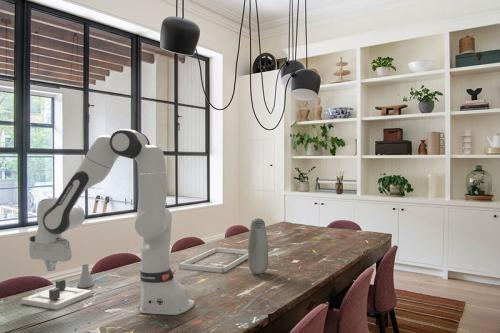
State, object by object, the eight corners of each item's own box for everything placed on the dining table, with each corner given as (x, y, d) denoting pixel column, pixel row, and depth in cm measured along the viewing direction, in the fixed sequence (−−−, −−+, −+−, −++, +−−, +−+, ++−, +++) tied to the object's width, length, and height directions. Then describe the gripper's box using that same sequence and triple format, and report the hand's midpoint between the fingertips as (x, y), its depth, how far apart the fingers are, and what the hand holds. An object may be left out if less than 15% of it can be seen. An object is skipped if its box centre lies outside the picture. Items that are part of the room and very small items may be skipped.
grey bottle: (267, 276, 189) (265, 220, 188) (246, 276, 191) (245, 220, 191) (270, 271, 198) (268, 217, 198) (250, 270, 200) (249, 217, 200)
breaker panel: (92, 295, 167) (91, 290, 167) (56, 309, 150) (56, 304, 150) (58, 290, 174) (58, 285, 174) (21, 303, 158) (21, 298, 158)
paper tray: (254, 254, 235) (254, 250, 235) (223, 273, 197) (223, 268, 197) (215, 251, 246) (215, 247, 246) (178, 268, 207) (178, 263, 207)
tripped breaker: (59, 297, 157) (59, 288, 157) (53, 300, 154) (53, 290, 154) (55, 297, 158) (55, 287, 158) (49, 299, 155) (49, 290, 155)
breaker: (65, 288, 169) (65, 279, 169) (59, 290, 167) (59, 281, 166) (61, 287, 170) (61, 279, 170) (55, 289, 167) (55, 281, 167)
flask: (89, 282, 185) (88, 262, 185) (96, 285, 180) (96, 264, 180) (74, 286, 180) (73, 265, 179) (81, 289, 175) (81, 267, 175)
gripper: (75, 237, 156) (76, 270, 156) (39, 234, 163) (40, 266, 164) (62, 239, 150) (63, 275, 150) (25, 237, 158) (26, 270, 158)
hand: (50, 270), depth 157 cm, fingers closed
